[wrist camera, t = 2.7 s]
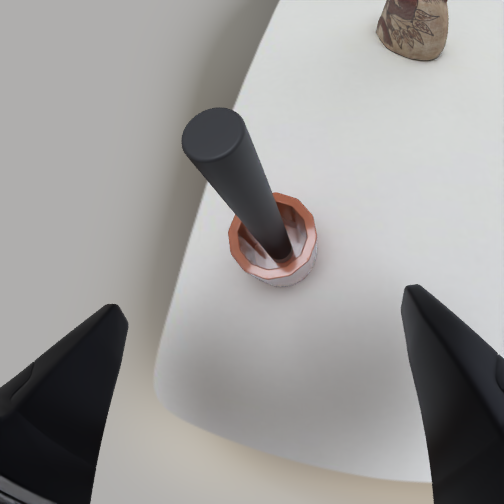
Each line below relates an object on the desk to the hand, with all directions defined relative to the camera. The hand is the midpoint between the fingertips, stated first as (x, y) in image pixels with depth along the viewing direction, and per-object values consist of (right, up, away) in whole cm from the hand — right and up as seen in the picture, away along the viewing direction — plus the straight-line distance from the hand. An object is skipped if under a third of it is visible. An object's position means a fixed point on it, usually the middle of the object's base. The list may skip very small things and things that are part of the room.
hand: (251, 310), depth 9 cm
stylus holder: (+2, +2, +11) cm, 12 cm away
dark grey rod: (+2, +2, +11) cm, 11 cm away
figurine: (+16, +23, +13) cm, 31 cm away
